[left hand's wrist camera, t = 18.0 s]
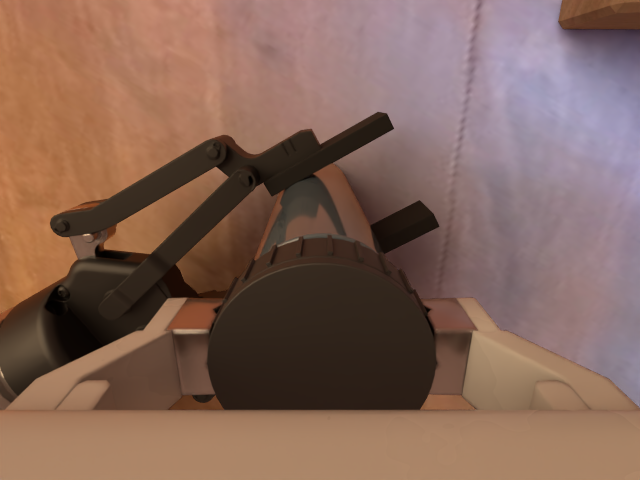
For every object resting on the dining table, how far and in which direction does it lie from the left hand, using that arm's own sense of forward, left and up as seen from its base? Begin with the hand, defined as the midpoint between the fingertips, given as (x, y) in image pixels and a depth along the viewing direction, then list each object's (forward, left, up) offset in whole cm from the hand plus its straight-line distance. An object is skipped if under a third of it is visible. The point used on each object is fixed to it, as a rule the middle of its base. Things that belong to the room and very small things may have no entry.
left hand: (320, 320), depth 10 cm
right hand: (-5, +2, -10) cm, 12 cm away
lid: (0, 0, +2) cm, 2 cm away
